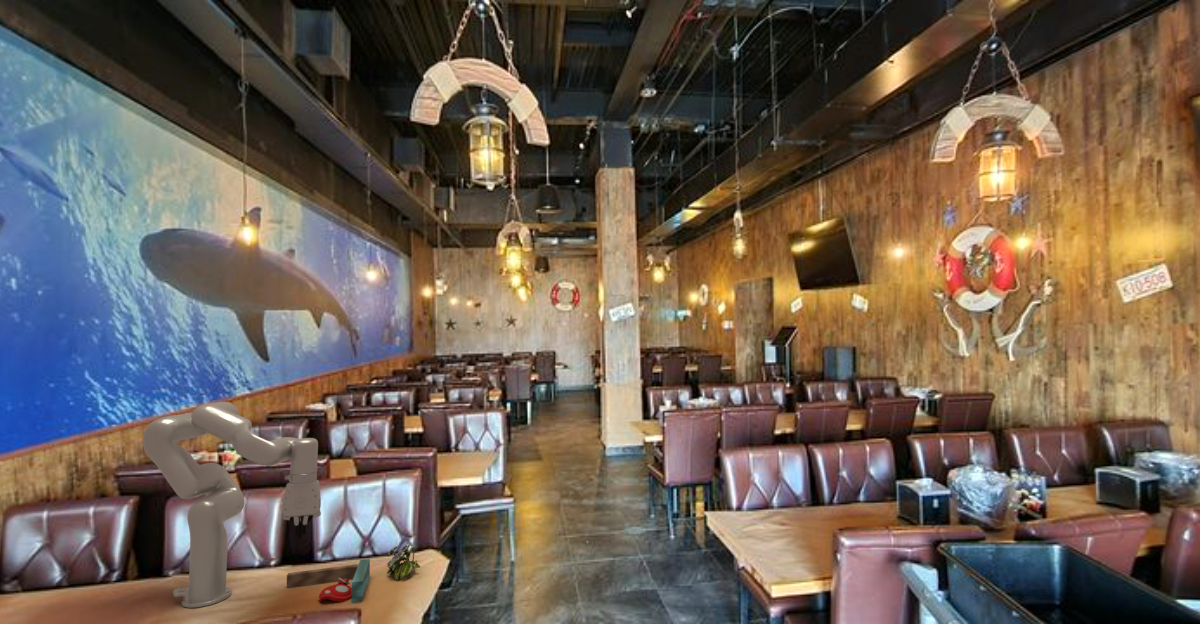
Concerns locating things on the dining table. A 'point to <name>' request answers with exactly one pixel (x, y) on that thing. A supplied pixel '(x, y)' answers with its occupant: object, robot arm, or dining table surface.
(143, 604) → the dining table surface
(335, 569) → the frame
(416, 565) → the passion flower
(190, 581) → the robot arm
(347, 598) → the tracker holder
